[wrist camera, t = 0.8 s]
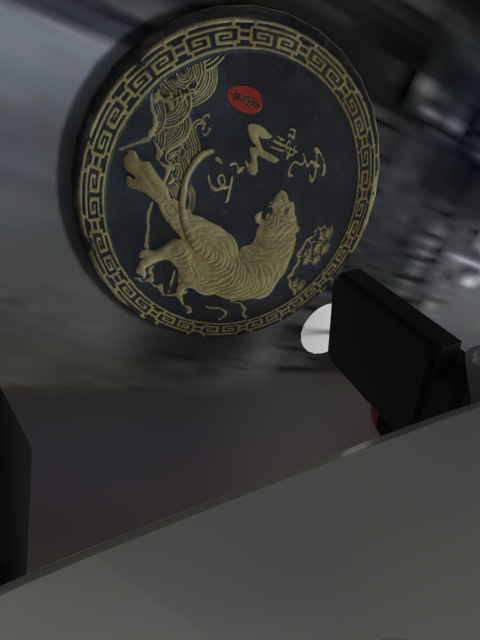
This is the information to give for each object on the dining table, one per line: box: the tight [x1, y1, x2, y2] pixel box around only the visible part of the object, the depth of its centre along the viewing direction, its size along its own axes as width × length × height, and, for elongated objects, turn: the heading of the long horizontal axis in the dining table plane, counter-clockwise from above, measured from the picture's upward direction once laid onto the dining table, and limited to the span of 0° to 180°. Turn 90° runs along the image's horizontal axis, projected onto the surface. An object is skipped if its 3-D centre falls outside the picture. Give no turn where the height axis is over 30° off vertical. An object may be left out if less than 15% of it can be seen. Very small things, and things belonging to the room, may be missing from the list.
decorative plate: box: [71, 4, 379, 338], centre depth 39 cm, size 30×2×30 cm
